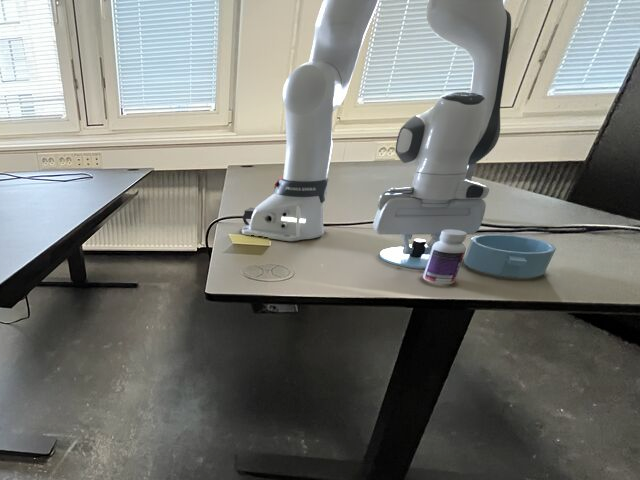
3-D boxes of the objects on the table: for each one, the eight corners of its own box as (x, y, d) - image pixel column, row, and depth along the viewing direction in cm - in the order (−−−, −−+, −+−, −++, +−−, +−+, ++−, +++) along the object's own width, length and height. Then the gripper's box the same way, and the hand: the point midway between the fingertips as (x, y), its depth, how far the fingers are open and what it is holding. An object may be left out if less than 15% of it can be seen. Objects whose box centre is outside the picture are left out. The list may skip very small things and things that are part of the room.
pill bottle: (458, 287, 78) (477, 236, 73) (427, 286, 79) (443, 235, 74) (447, 277, 82) (464, 228, 77) (418, 276, 83) (433, 228, 78)
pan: (467, 279, 81) (477, 253, 78) (460, 252, 95) (468, 229, 92) (553, 288, 75) (567, 261, 72) (532, 258, 89) (543, 234, 86)
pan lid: (376, 266, 89) (381, 246, 86) (381, 248, 99) (385, 229, 97) (453, 275, 83) (461, 253, 80) (449, 255, 93) (456, 235, 91)
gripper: (386, 190, 82) (370, 258, 89) (499, 189, 79) (472, 258, 86) (377, 185, 87) (362, 249, 94) (482, 183, 84) (458, 249, 91)
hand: (416, 253), depth 90 cm, fingers closed on pan lid, 2 cm apart
